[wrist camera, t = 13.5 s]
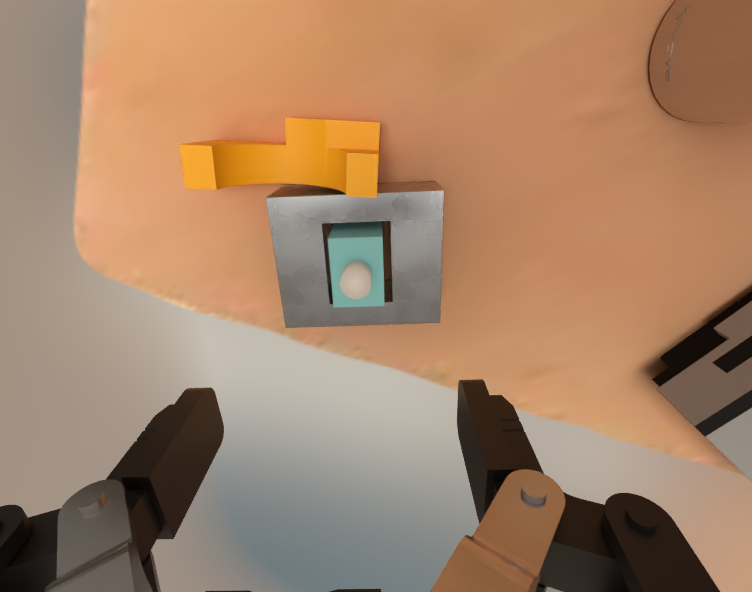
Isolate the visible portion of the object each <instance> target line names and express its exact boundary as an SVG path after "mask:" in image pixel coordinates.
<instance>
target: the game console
mask: <svg viewBox="0 0 752 592" xmlns="http://www.w3.org/2000/svg"><path fill="white" fill-rule="evenodd" d="M660 358H661V359H662V360H663V361H664V362H665V363H666V364H667V365H668V366H669V368H668V369H666V370H665V371H663V372H662V373H660V374H659V375H658V376H656V377H655V378H653V379H652V380H654V381H655V382H656V383H657V384H658V385H659V386H660V387H659V388H657V389H656V390H657V391H658V392H659V393H661V394H662V395H663V396H664V397H665V398H666V399H667V400H668V401H669V402H670V403H671V404H672V405H673V406H674V407H675V408H676V409H677V410H678V411H679V412H680V413H681V414H682V415H683V416H684V417H685V418H686V419H687V420H688V421H689V422H690V423H691V424H692V425H693V426H695V427H696V428H697V429H698V430H699V431H700V432H701V433H702V434H703V435H704V436H705V437H706V438H707V439H708V440H709V441H710V442H711V443H712V444H713V445H714V446H715V447H716V448H717V449H718V450H719V451H720V452H721V453H723V454H724V455H725V456H726V457H727V458H728V459H729V460H730V461H731V462H732V463H733V464H734V465H735V466H736V467H737V468H738V469H739V470H740V471H741V472H742V473H743V474H744V475H745V476H746V477H747V478H748V479H749V480H751V481H752V292H750V293H749V294H747V295H746V296H745V297H743V298H742V299H740V300H739V301H738V302H736V303H735V304H734V305H732V306H731V307H729V308H728V309H727V310H725V311H724V312H722V313H721V314H720V315H718V316H717V317H715V318H714V319H713V320H711V321H710V322H708V323H707V324H706V325H704V326H703V327H702V328H700V329H699V330H697V331H696V332H695V333H693V334H692V335H690V336H689V337H688V338H686V339H685V340H683V341H682V342H681V343H679V344H678V345H676V346H675V347H674V348H672V349H671V350H670V351H668V352H667V353H665V354H664V355H663V356H661V357H660Z"/></svg>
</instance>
